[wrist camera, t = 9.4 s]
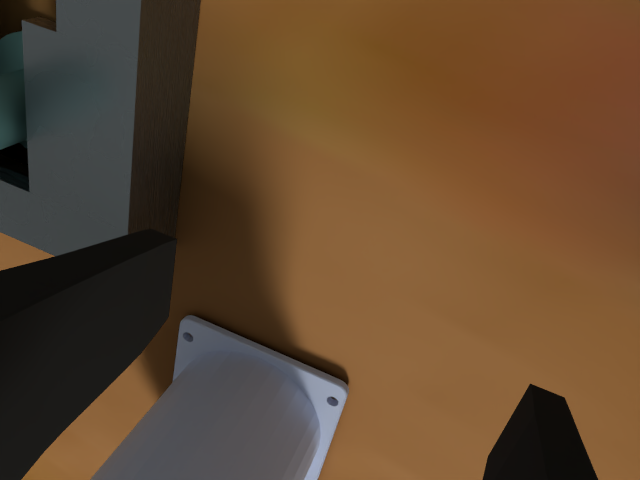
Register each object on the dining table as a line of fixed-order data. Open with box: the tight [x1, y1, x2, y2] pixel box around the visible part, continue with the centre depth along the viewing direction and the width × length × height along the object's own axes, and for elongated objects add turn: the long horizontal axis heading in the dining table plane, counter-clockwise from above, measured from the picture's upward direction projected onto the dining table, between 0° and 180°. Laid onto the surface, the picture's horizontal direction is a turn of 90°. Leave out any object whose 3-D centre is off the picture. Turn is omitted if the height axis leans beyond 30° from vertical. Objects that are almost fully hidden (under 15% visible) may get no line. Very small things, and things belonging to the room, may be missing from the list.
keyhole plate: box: [0, 0, 201, 256], centre depth 20 cm, size 16×12×3 cm
